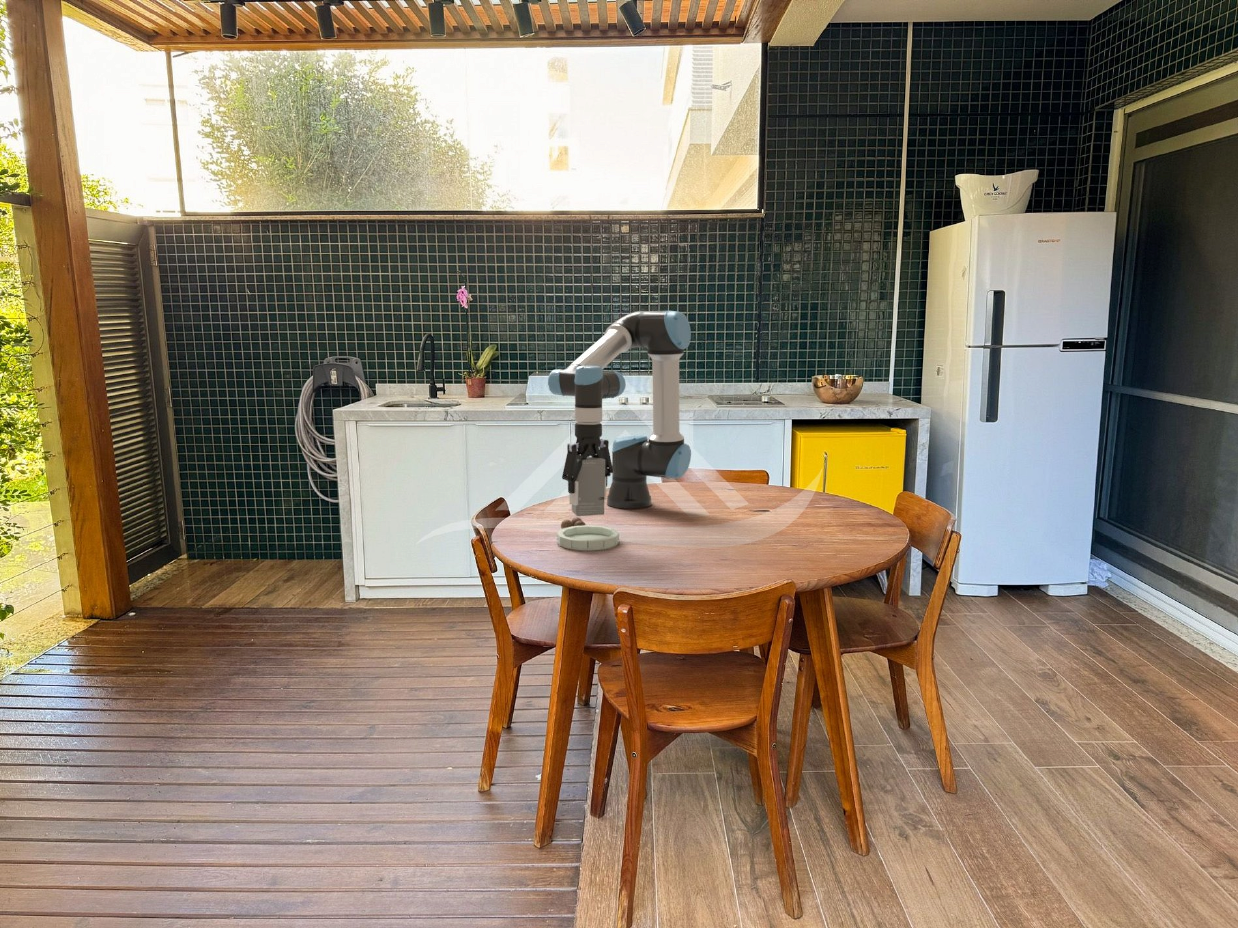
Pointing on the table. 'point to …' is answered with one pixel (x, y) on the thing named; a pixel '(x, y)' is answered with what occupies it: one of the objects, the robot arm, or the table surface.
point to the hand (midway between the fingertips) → (588, 501)
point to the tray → (588, 538)
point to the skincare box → (590, 487)
